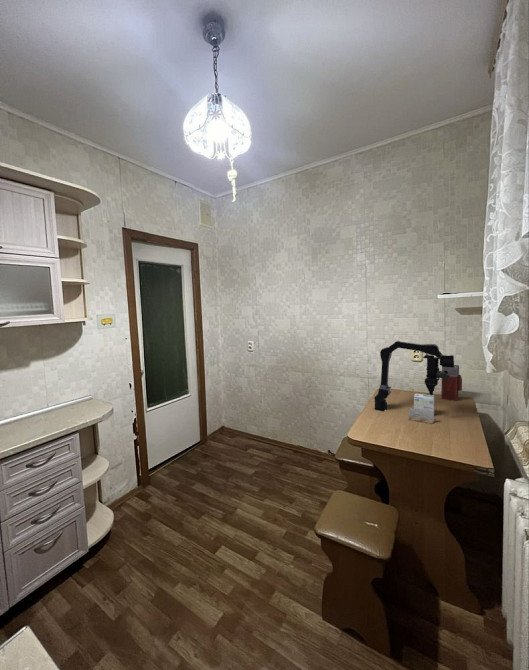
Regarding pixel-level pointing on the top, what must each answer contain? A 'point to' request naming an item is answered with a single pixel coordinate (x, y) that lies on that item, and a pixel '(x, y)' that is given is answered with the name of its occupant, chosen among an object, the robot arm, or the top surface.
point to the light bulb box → (424, 402)
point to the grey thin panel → (421, 414)
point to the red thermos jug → (451, 384)
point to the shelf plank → (421, 420)
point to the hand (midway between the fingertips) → (432, 392)
